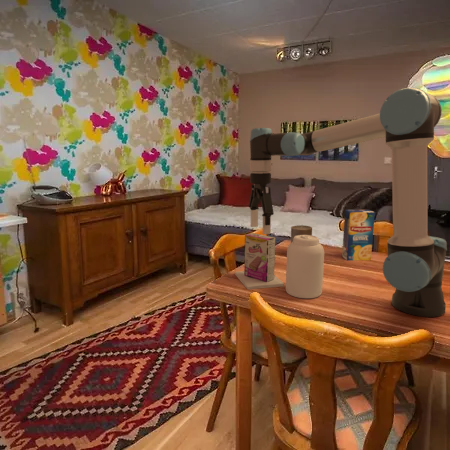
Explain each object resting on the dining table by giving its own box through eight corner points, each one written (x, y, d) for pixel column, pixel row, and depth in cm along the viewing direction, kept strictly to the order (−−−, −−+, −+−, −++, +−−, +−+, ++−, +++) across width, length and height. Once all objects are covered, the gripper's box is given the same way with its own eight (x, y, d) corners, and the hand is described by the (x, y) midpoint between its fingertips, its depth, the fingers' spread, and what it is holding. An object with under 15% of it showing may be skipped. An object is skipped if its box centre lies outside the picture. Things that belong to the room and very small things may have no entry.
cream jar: (283, 285, 136) (285, 232, 132) (317, 286, 135) (320, 232, 131) (287, 299, 123) (290, 241, 119) (325, 299, 123) (329, 241, 119)
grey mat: (284, 286, 135) (284, 283, 135) (247, 289, 132) (247, 286, 132) (267, 271, 151) (267, 269, 151) (234, 274, 148) (234, 271, 148)
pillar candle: (314, 254, 175) (315, 223, 172) (306, 259, 167) (308, 227, 164) (294, 252, 180) (295, 221, 178) (286, 256, 172) (287, 225, 169)
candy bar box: (243, 276, 143) (243, 234, 140) (251, 272, 146) (252, 232, 143) (266, 283, 135) (268, 239, 132) (274, 279, 139) (276, 237, 136)
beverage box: (371, 260, 167) (375, 212, 162) (346, 260, 166) (350, 212, 162) (365, 256, 173) (368, 209, 169) (341, 256, 173) (344, 209, 169)
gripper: (284, 173, 122) (282, 236, 126) (259, 170, 146) (258, 223, 150) (262, 174, 121) (261, 238, 125) (240, 171, 144) (240, 224, 148)
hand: (260, 230), depth 137 cm, fingers open, 13 cm apart
